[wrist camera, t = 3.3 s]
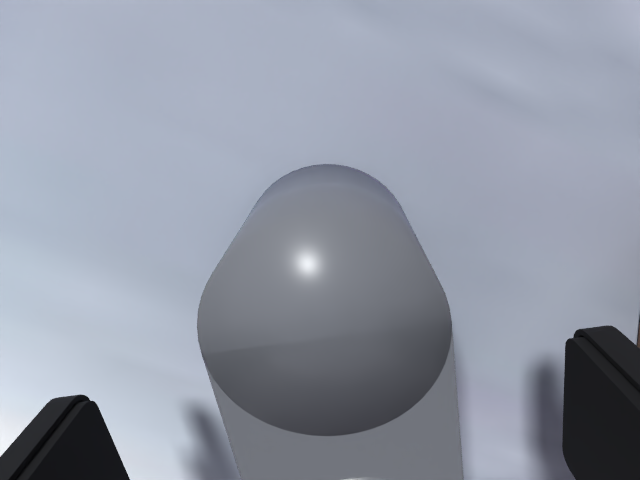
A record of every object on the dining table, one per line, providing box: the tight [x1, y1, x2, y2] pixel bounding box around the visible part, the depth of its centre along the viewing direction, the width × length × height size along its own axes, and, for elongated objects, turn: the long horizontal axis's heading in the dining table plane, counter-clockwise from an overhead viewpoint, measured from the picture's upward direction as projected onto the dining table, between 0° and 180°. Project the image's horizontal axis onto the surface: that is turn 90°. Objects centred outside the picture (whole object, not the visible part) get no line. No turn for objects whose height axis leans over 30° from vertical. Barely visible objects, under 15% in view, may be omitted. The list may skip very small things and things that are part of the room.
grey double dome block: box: [197, 164, 463, 480], centre depth 10 cm, size 4×11×4 cm, turn 10°
